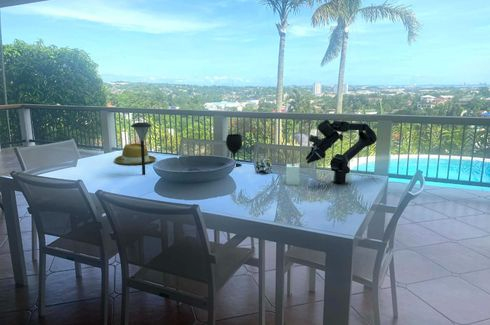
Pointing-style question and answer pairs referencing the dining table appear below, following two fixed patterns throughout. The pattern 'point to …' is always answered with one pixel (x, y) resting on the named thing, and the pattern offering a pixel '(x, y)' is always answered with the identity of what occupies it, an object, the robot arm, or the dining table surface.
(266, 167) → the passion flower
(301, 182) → the placemat
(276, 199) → the dining table surface
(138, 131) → the solar garden light
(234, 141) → the wine glass
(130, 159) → the fedora
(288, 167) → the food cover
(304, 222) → the dining table surface
